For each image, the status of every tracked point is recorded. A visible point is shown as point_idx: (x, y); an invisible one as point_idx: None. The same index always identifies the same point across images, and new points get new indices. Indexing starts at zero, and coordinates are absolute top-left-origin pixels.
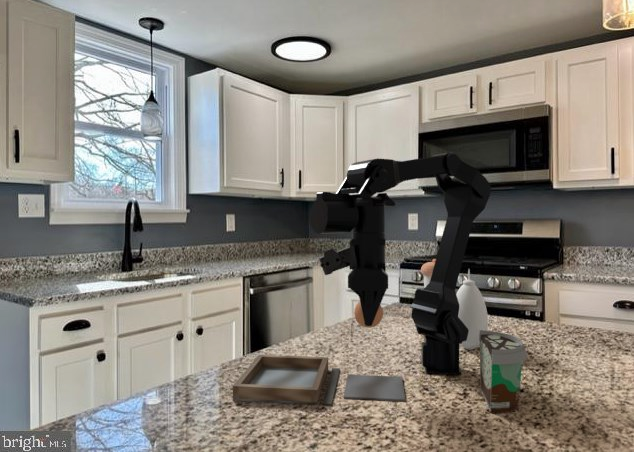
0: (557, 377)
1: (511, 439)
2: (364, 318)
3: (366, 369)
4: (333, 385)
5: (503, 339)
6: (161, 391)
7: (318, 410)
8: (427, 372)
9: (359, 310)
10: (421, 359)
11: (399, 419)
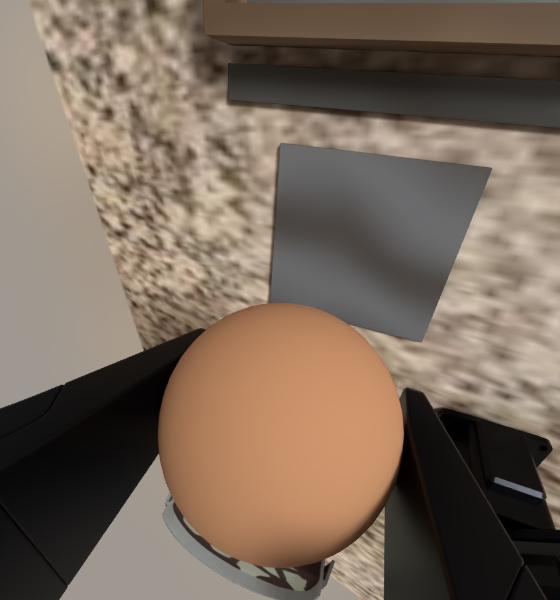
0: (376, 555)
1: None
2: (157, 348)
3: (553, 255)
4: (375, 101)
5: (279, 579)
6: None
7: (198, 54)
8: (443, 410)
9: (178, 366)
10: (524, 439)
11: (191, 265)
